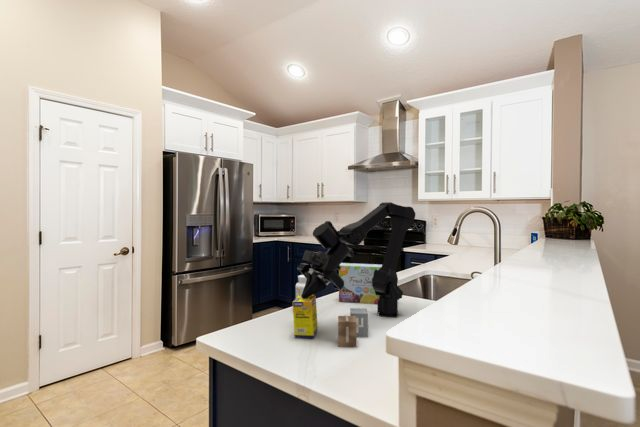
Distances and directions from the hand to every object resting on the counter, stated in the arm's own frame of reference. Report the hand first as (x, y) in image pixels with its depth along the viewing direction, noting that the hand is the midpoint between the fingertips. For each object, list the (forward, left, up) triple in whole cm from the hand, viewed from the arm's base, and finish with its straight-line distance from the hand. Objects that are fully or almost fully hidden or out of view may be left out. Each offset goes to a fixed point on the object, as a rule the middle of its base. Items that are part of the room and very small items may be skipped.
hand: (302, 297), depth 103 cm
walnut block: (-14, +2, -12) cm, 18 cm away
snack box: (-13, -40, -12) cm, 44 cm away
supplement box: (-1, -1, -11) cm, 12 cm away
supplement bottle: (+7, -23, -12) cm, 27 cm away
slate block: (-16, -6, -12) cm, 20 cm away
